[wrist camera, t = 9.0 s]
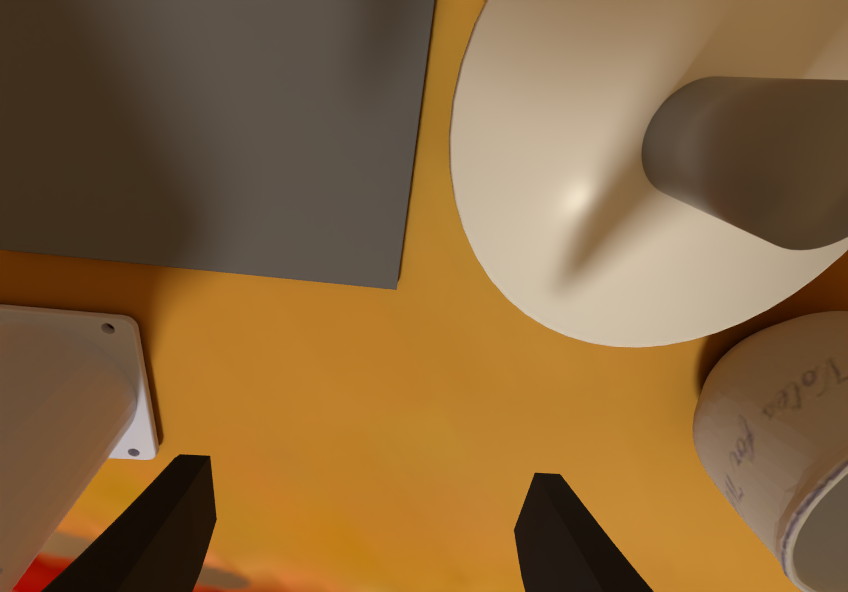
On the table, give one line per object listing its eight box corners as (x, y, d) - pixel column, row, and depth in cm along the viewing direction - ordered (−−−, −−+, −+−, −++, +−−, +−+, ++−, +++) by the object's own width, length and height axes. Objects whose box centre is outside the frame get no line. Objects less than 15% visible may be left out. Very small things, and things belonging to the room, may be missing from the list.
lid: (417, 318, 14) (427, 419, 10) (513, -273, 8) (628, -598, 4) (775, 352, 16) (909, 452, 12) (1066, -122, 10) (1537, -253, 6)
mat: (3, 245, 17) (-5, 248, 16) (-186, -373, 10) (-206, -389, 10) (396, 285, 19) (396, 289, 18) (461, -213, 12) (463, -221, 11)
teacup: (707, 275, 19) (889, 395, 12) (928, 283, 20) (1214, 399, 13) (621, 491, 26) (708, 652, 19) (792, 489, 27) (937, 642, 20)
